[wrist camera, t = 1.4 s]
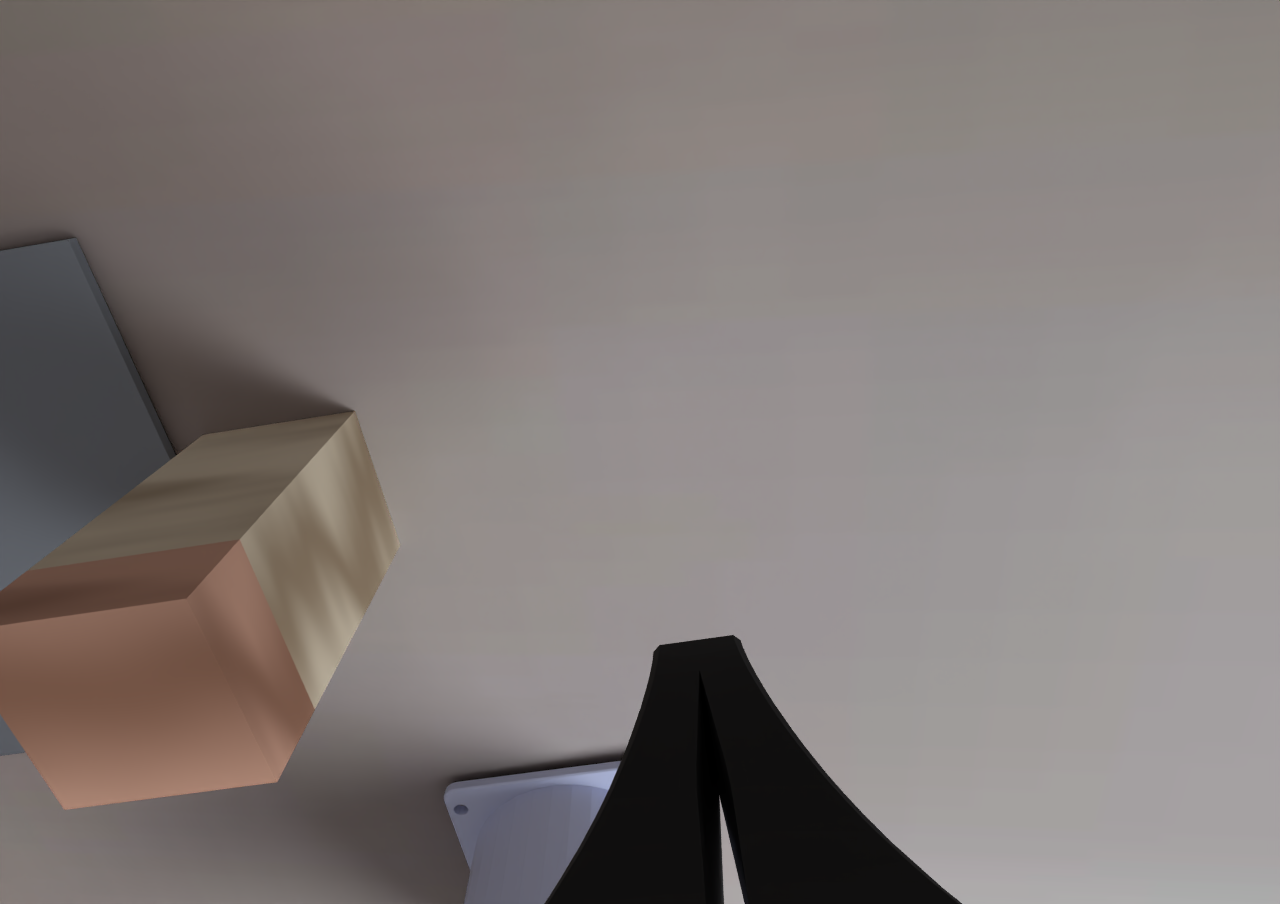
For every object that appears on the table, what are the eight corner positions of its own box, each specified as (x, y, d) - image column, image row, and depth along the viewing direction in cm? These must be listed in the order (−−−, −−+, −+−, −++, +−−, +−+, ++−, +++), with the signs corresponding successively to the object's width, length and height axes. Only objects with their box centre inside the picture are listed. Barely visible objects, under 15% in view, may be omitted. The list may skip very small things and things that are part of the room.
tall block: (400, 545, 23) (277, 781, 15) (260, 565, 24) (64, 809, 15) (354, 410, 21) (186, 598, 13) (203, 434, 22) (-54, 633, 14)
